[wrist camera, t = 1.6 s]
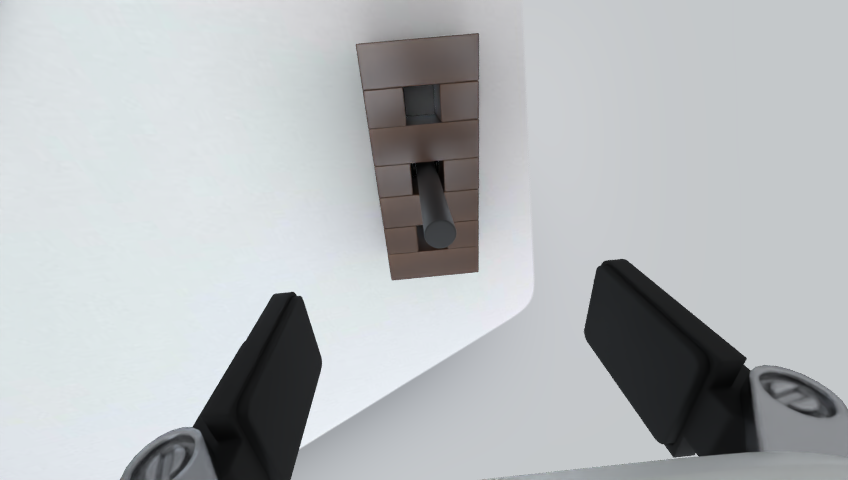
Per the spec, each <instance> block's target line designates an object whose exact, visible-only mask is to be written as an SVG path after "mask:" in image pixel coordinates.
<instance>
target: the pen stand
mask: <svg viewBox="0 0 848 480" xmlns="http://www.w3.org/2000/svg"><path fill="white" fill-rule="evenodd" d="M356 50H357V56H358V63H359V69H360V76H361V82H362V89H363V90H364V91H363V96H364V102H365V109H366V115H367V122H368V128H369V135H370V142H371V148H372V155H373V161H374V166H375V167H374V168H375V174H376V181H377V187H378V194H379V200H380V207H381V213H382V220H383V226H384V233H385V239H386V246H387V252H388V259H389V266H390V272H391V279H392V280H401V279H411V278H421V277H432V276H442V275H453V274H463V273H473V272H478V259H479V246H478V240H479V220H478V204H479V190H478V188H479V119H478V118H479V81H477V80H479V34H478V33H475V34H463V35H452V36H441V37H429V38H418V39H406V40H395V41H383V42H372V43H361V44H356ZM432 84H433V89H434V107H435V114H431V115H420V116H409V117H406V111H405V100H404V90H403V87H410V86H421V85H432ZM431 161H438V176H439V180H440V183H441V186H442V189H443V192H444V195H445V198H446V201H447V204H448V207H449V210H450V213H451V216H452V219H453V222H454V225H455V228H456V238H455V240H454V241H453V243H452V244H451V245H449V246H448V247H445V248H434V247H432V246H430V245H429V244H428V243H427V242H426V240H425V237H424V229H423V221H422V213H421V205H420V196H419V188H418V180H417V175H415V176H412V172H411V163H420V162H431ZM417 225H419V226H417Z"/></svg>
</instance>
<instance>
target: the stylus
mask: <svg viewBox="0 0 848 480" xmlns="http://www.w3.org/2000/svg"><path fill="white" fill-rule="evenodd" d="M416 172H417V180H418V188H419V196H420V205H421V213H422V221H423V229H424V237H425V240H426V242H427V243H428V244H429V245H430V246H432V247H434V248H445V247H448V246H449V245H451V244H452V243H453V241H454V240H455V238H456V228H455V225H454V222H453V219H452V216H451V213H450V210H449V207H448V204H447V201H446V198H445V195H444V192H443V189H442V186H441V183H440V180H439V176H438V173H437V170H436V167H435V164H434V161H431V162H420V163H416Z"/></svg>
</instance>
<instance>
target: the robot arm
mask: <svg viewBox="0 0 848 480" xmlns="http://www.w3.org/2000/svg"><path fill="white" fill-rule="evenodd" d="M584 334H585V338H586V340H587V342H588V343H589V345H590V346H591V348H592V349H593V351H594V352H595V353H596V355H597V356H598V358H599V359H600V361H601V362H602V363H603V365H604V366H605V368H606V369H607V371H608V372H609V373H610V375H611V376H612V378H613V379H614V381H615V382H616V383H617V385H618V386H619V388H620V389H621V391H622V392H623V394H624V395H625V396H626V398H627V399H628V401H629V402H630V404H631V405H632V406H633V408H634V409H635V411H636V412H637V413H638V415H639V416H640V417H641V419H642V421H643V422H644V424H645V425H646V426H647V428H648V429H649V431H650V432H651V434H652V435H653V436H654V438H655V439H656V440H657V441H658V442H659V443H661V444H664V445H665V446H666V448H667V449H668V450H669V452H670V453H671V455H672V456H673V457H682V456H691V455H695V453H696V454H697V455H698V456H699V457H688V458H678V459H668V460H658V461H649V462H640V463H630V464H621V465H611V466H602V467H592V468H583V469H573V470H565V471H555V472H546V473H538V474H528V475H519V476H510V477H501V478H492V479H484V480H848V409H847V407H846V406H845V404H844V403H843V401H842V400H841V399H840V398H839V397H837V395H835V394H834V393H833V392H832V391H831V390H829V389H828V388H826V387H825V386H823V385H822V384H820V383H819V382H817V381H815V380H813V379H811V378H809V377H807V376H805V375H803V374H801V373H798V372H795V371H793V370H790V369H786V368H782V367H778V366H768V365H763V366H758V367H755V368H754V369H753V370H749V369H748V368H747V367H746V366H745V365H743V364H744V363H745V361H746V357H744V356H743V355H742V354H741V353H740V352H738V351H737V350H736V349H735V348H734V347H732V346H731V345H730V344H729V343H727V342H726V341H725V340H724V339H722V338H721V337H720V336H719V335H718V334H716V333H715V332H714V331H713V330H712V329H710V328H709V327H708V326H707V325H705V324H704V323H703V322H702V321H701V320H699V319H698V318H697V317H696V316H694V315H693V314H692V313H690V311H688V310H687V309H686V308H685V307H683V306H682V305H681V304H680V303H678V302H677V301H676V300H675V299H673V298H672V297H671V296H670V295H668V294H667V293H666V292H665V291H664V290H662V289H661V288H660V287H659V286H658V285H656V284H655V283H654V282H653V281H652V280H650V279H649V278H648V277H646V276H645V275H644V274H643V273H642V272H641V271H639V270H638V269H637V268H636V267H634V266H633V265H632V264H631V263H629V262H628V261H627V260H625V259H618V260H608V261H604V262H603V263H602V265H601V266H599V267H598V268H597V270H596V275H595V279H594V284H593V289H592V294H591V299H590V304H589V309H588V314H587V319H586V324H585V329H584ZM321 367H322V359H321V355H320V352H319V349H318V345H317V342H316V339H315V336H314V333H313V330H312V326H311V323H310V320H309V317H308V314H307V311H306V308H305V304H304V301H303V299H302V297H301V296H297V295H296V294H295V293H294V292H288V293H278V294H274V295H273V296H272V297H271V299H270V301H269V303H268V304H267V306H266V308H265V309H264V311H263V313H262V314H261V316H260V318H259V319H258V321H257V323H256V324H255V326H254V328H253V329H252V331H251V333H250V334H249V336H248V338H247V340H246V341H245V342H244V343H243V344H242V346H241V347H240V349H239V350H238V352H237V354H236V355H235V357H234V359H233V360H232V362H231V364H230V365H229V367H228V369H227V370H226V372H225V374H224V375H223V377H222V379H221V380H220V382H219V384H218V385H217V387H216V389H215V390H214V392H213V394H212V395H211V397H210V399H209V400H208V402H207V404H206V405H205V407H204V409H203V410H202V412H201V414H200V415H199V417H198V419H197V420H196V422H195V424H194V425H193V427H182V428H179V429H175V430H172V431H169V432H167V433H165V434H163V435H161V436H160V437H158V438H156V439H155V440H154V441H152V442H151V443H149V444H148V445H147V446H145V447H144V448H143V449H142V450H141V451H140V452H139V453H138V454H137V455H136V456H135V457H134V458H133V460H132V461H131V462H130V463H129V465H128V466H127V467H126V469H125V471H124V473H123V475H122V477H121V479H120V480H290V479H291V476H292V472H293V469H294V465H295V462H296V458H297V454H298V451H299V447H300V444H301V440H302V436H303V433H304V429H305V426H306V422H307V418H308V415H309V411H310V408H311V404H312V400H313V397H314V393H315V390H316V386H317V383H318V379H319V375H320V372H321Z"/></svg>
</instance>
